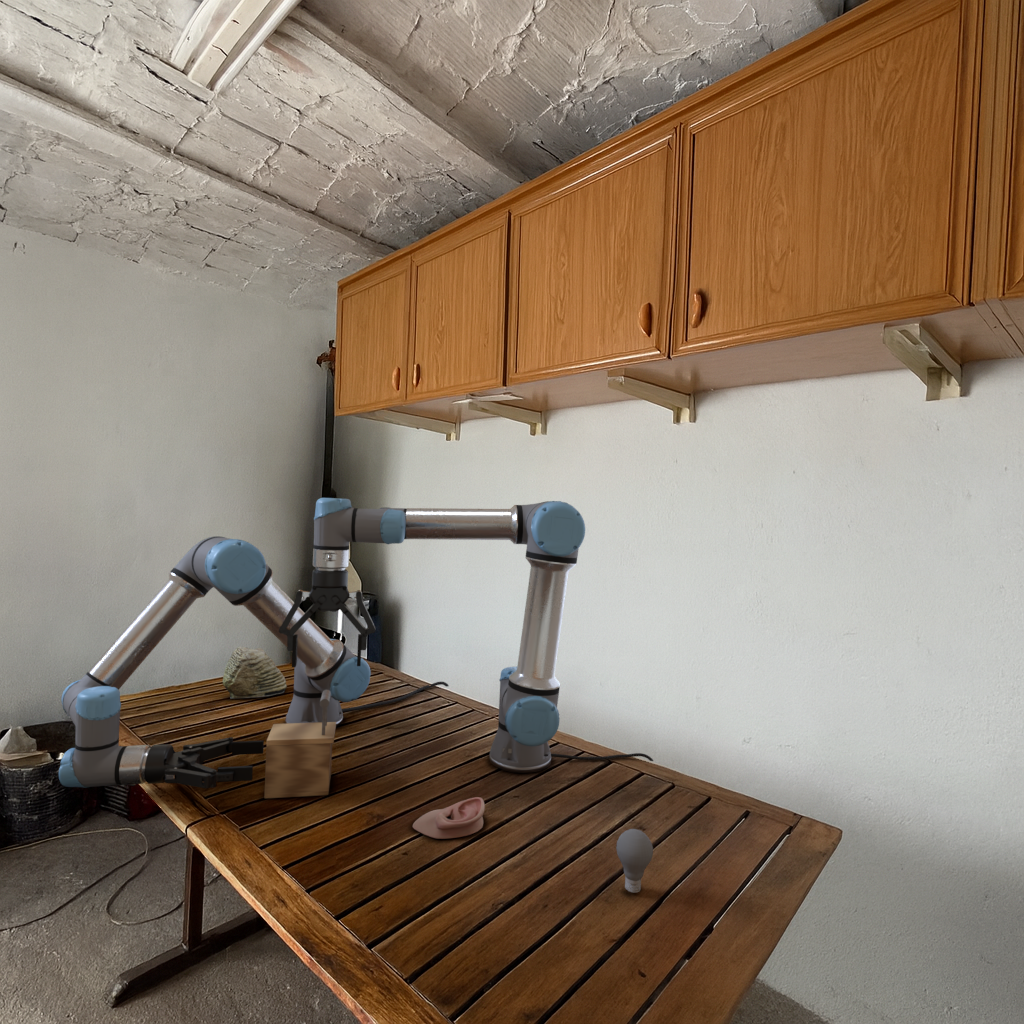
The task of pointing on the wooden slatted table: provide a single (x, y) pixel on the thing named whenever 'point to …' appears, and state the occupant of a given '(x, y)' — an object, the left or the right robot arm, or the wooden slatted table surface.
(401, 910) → the wooden slatted table surface
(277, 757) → the chest
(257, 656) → the fossil
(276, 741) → the lid
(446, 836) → the anatomical model
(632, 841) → the light bulb
